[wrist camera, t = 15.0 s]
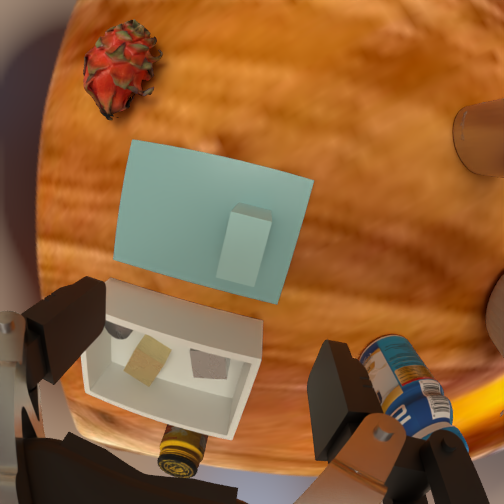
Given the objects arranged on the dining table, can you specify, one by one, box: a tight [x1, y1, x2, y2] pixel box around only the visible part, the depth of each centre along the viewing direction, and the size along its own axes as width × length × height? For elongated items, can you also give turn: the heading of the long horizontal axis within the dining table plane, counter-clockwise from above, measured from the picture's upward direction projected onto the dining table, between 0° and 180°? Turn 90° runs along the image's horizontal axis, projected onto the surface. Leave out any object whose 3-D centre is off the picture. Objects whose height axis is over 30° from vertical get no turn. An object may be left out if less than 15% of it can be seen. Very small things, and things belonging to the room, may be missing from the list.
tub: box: [81, 278, 263, 440], centre depth 33 cm, size 20×14×8 cm
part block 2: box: [190, 348, 230, 380], centre depth 34 cm, size 4×4×4 cm
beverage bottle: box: [359, 335, 469, 451], centre depth 27 cm, size 8×8×20 cm
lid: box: [113, 139, 314, 304], centre depth 29 cm, size 21×15×8 cm
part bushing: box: [105, 321, 133, 340], centre depth 33 cm, size 4×4×4 cm
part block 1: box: [123, 334, 171, 387], centre depth 35 cm, size 4×5×4 cm
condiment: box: [158, 424, 208, 478], centre depth 35 cm, size 7×8×12 cm
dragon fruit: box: [83, 20, 163, 120], centre depth 25 cm, size 8×8×12 cm
